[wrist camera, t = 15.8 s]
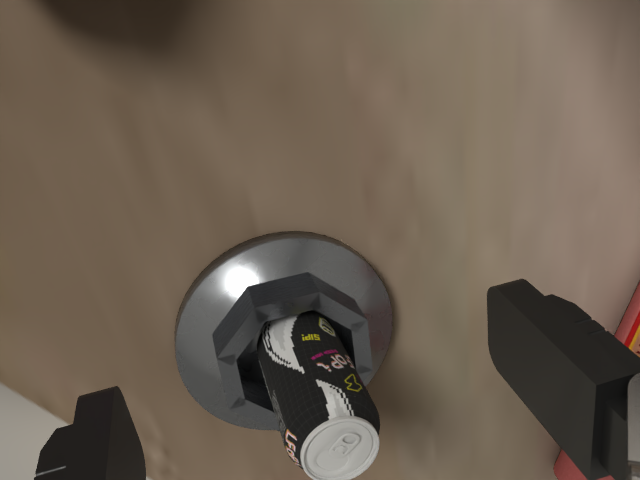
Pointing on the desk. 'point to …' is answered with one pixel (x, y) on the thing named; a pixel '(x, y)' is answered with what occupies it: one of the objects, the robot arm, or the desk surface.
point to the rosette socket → (274, 317)
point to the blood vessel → (636, 334)
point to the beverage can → (318, 397)
